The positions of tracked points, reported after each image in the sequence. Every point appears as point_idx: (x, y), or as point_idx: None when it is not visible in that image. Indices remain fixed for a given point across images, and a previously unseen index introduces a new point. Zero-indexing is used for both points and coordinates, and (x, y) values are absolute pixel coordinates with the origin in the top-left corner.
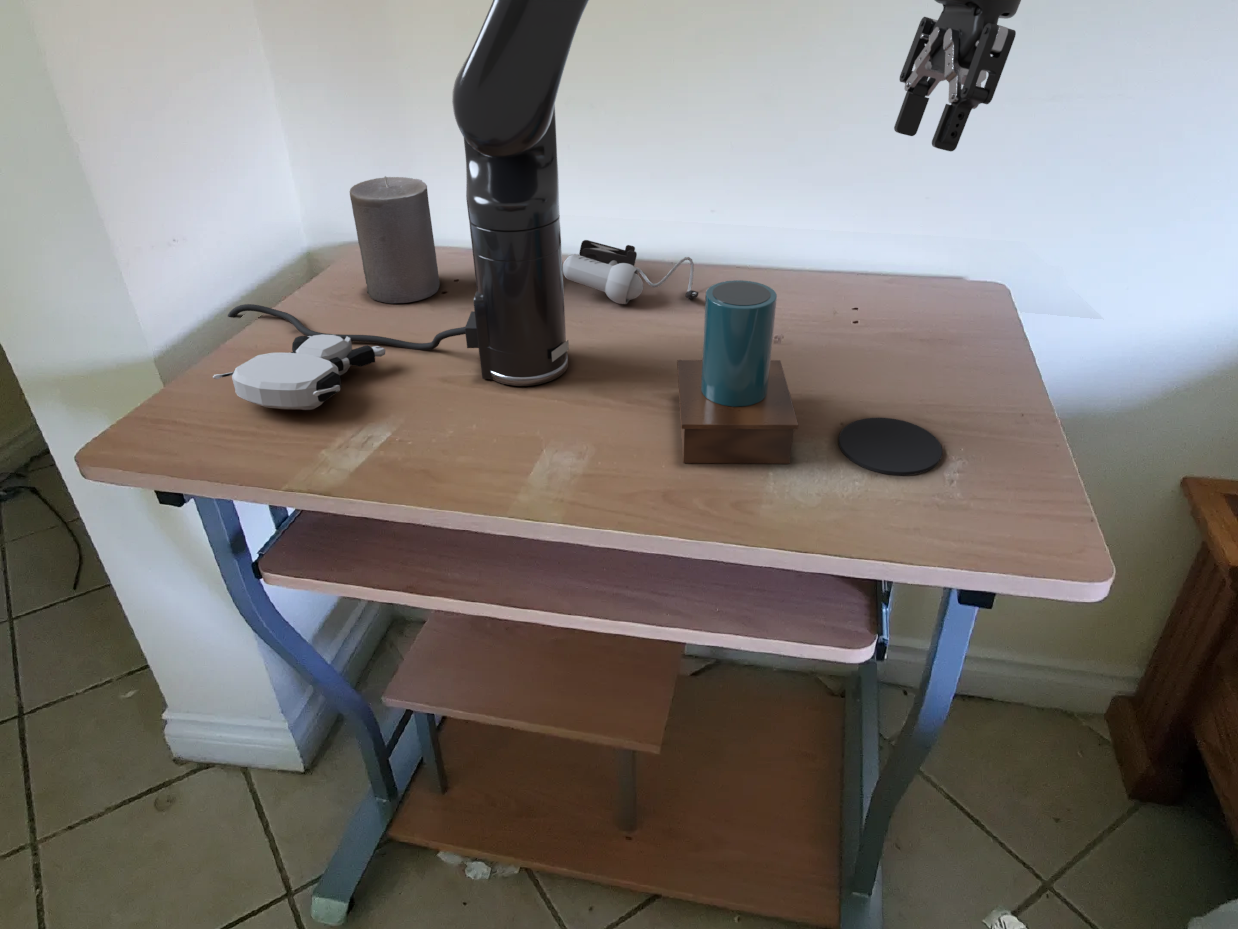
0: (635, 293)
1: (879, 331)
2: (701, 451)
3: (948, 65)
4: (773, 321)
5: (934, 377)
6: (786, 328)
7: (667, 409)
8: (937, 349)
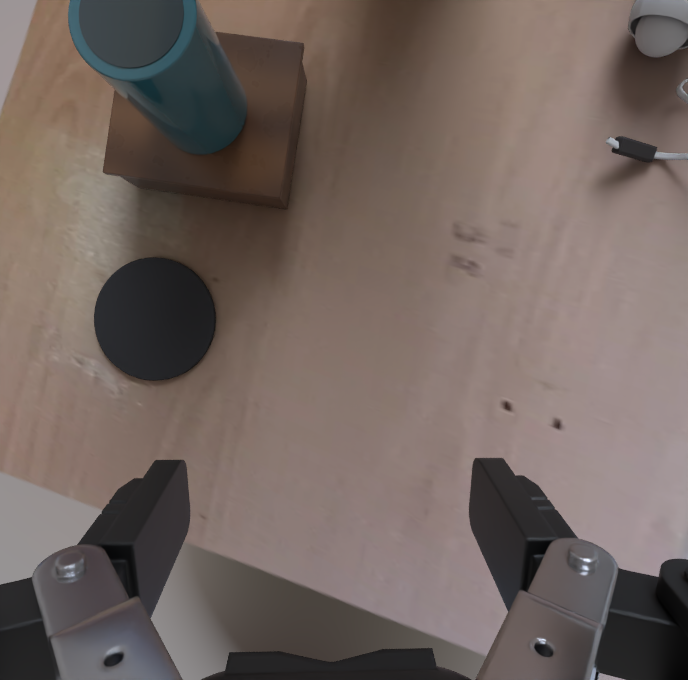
0: (636, 40)
1: (468, 431)
2: None
3: (117, 649)
4: (119, 92)
5: (314, 450)
6: (502, 289)
7: None
8: (395, 492)
